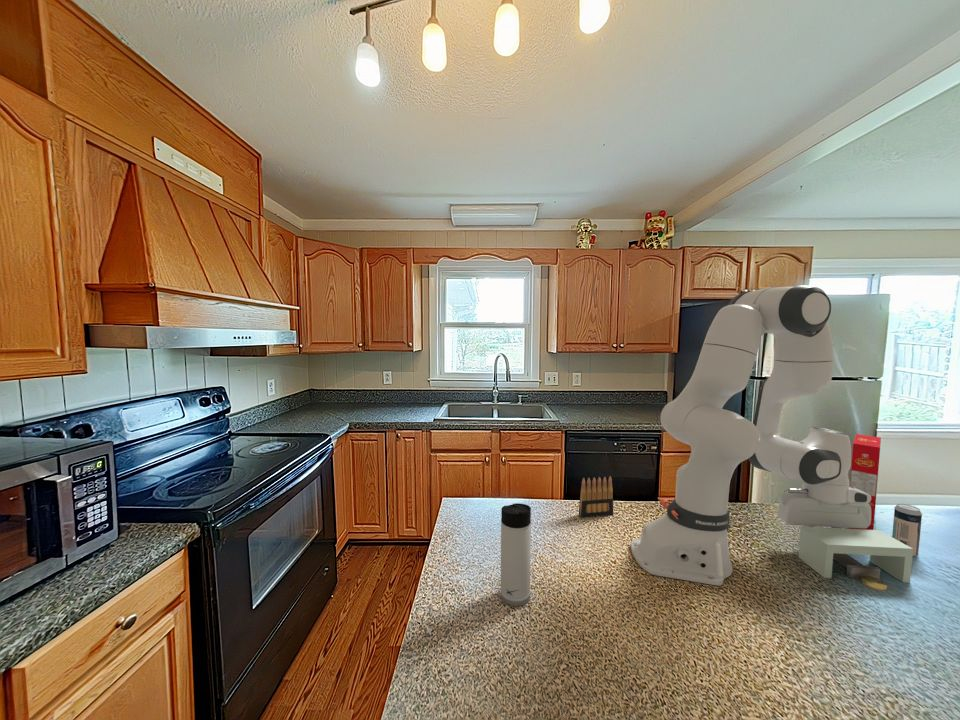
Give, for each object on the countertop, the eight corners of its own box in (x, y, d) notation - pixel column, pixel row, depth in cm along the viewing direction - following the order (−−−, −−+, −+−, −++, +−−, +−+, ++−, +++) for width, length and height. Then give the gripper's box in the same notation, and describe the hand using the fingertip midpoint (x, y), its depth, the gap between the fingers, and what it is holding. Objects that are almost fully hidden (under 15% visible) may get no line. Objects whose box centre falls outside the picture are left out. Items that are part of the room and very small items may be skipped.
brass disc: (872, 591, 83) (872, 586, 83) (855, 580, 87) (856, 575, 87) (892, 593, 82) (892, 587, 82) (874, 581, 86) (875, 576, 86)
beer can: (924, 558, 94) (928, 512, 94) (901, 556, 95) (905, 510, 95) (907, 548, 99) (911, 503, 98) (885, 545, 100) (889, 502, 99)
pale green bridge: (824, 577, 87) (826, 544, 86) (798, 557, 95) (800, 526, 94) (910, 582, 85) (913, 548, 85) (876, 561, 93) (878, 530, 93)
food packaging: (850, 511, 119) (856, 434, 118) (874, 517, 116) (881, 437, 114) (846, 527, 109) (853, 443, 108) (872, 535, 106) (880, 447, 104)
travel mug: (511, 612, 76) (512, 516, 75) (495, 592, 82) (495, 502, 80) (536, 601, 79) (538, 509, 77) (519, 583, 85) (520, 496, 83)
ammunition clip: (581, 517, 115) (582, 479, 114) (578, 514, 117) (579, 476, 116) (613, 514, 117) (614, 476, 116) (610, 511, 119) (611, 474, 118)
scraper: (850, 578, 87) (852, 557, 86) (798, 540, 103) (800, 522, 102) (879, 579, 86) (881, 558, 86) (822, 541, 102) (823, 523, 102)
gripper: (790, 493, 96) (787, 545, 97) (878, 496, 94) (874, 550, 95) (773, 483, 102) (770, 532, 103) (856, 486, 100) (852, 536, 101)
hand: (821, 540), depth 99 cm, fingers closed on scraper, 3 cm apart
